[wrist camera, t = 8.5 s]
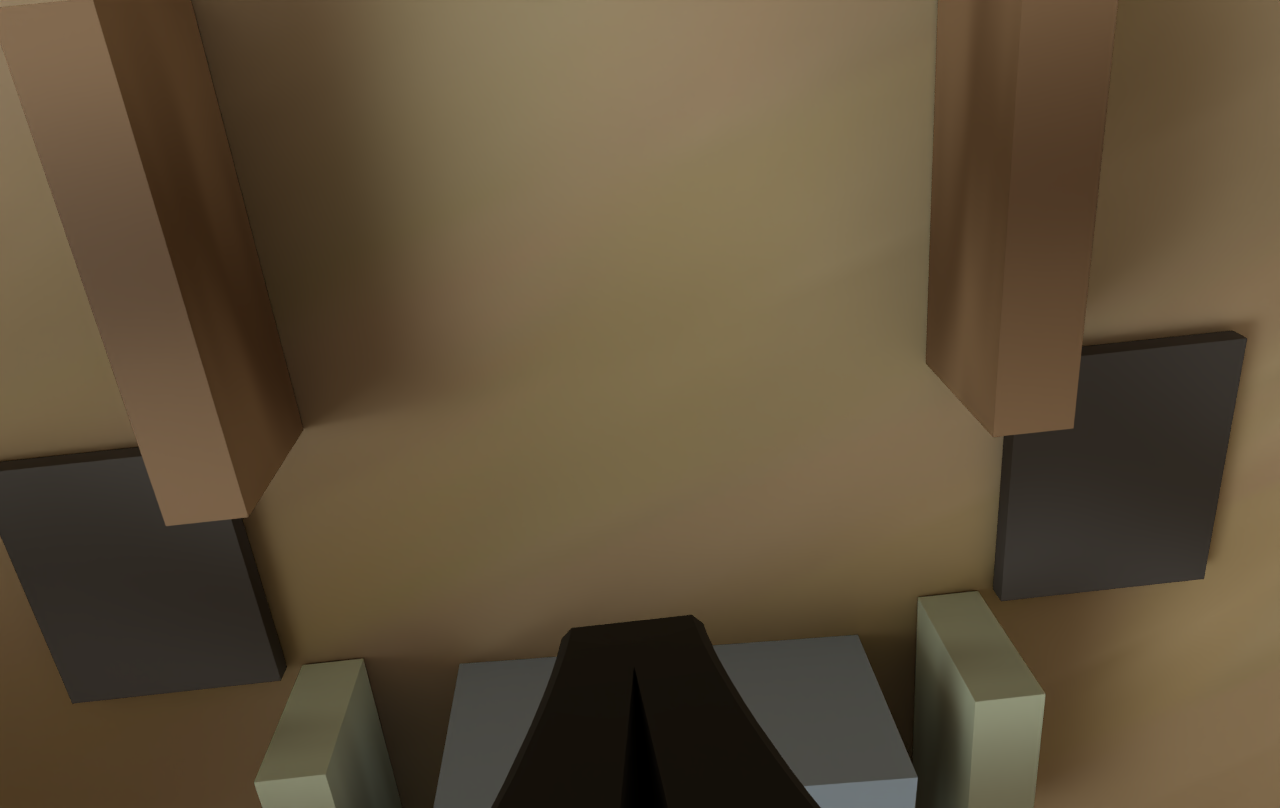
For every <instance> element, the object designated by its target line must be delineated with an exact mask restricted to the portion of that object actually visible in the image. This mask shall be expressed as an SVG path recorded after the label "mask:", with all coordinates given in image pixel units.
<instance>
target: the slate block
mask: <svg viewBox="0 0 1280 808" xmlns="http://www.w3.org/2000/svg"><path fill="white" fill-rule="evenodd" d="M712 646H713V648H714V650H715V652H716V654H717V656H718V658H719V660H720V661H721V663H722V665H723V667H724V669H725V670H726V672H727V674H728V676H729V677H730V679H731V681H732V682H733V684H734V686H735V687H736V689H737V691H738V692H739V694H740V696H741V697H742V699H743V701H744V702H745V704H746V705H747V707H748V708H749V710H750V711H751V713H752V714H753V716H754V717H755V719H756V721H757V722H758V723H759V725H760V726H761V728H762V729H763V731H764V732H765V733H766V735H767V736H768V738H769V739H770V740H771V742H772V743H773V745H774V746H775V748H776V749H777V750H778V752H779V753H780V755H781V756H782V757H783V759H784V760H785V762H786V763H787V764H788V766H789V767H790V769H791V770H792V771H793V773H794V774H795V775H796V777H797V778H798V779H799V781H800V782H801V783H802V784H803V786H804V787H805V788H806V790H807V791H808V792H809V794H810V795H811V796H812V797H813V799H814V800H815V801H816V802H817V804H818V805H819V806H820V807H821V808H915V801H916V791H917V781H918V777H917V774H916V772H915V770H914V767H913V765H912V762H911V760H910V758H909V755H908V753H907V751H906V748H905V746H904V743H903V741H902V739H901V736H900V734H899V732H898V729H897V727H896V724H895V722H894V720H893V717H892V715H891V712H890V710H889V708H888V705H887V703H886V701H885V698H884V696H883V693H882V691H881V689H880V686H879V684H878V682H877V679H876V677H875V674H874V672H873V670H872V667H871V665H870V663H869V660H868V658H867V655H866V653H865V651H864V648H863V646H862V644H861V641H860V639H859V636H858V635H848V636H834V637H821V638H807V639H793V640H780V641H766V642H752V643H738V644H725V645H712ZM556 658H557V657H546V658H533V659H519V660H505V661H491V662H478V663H464V664H460V665H459V670H458V676H457V681H456V687H455V692H454V698H453V703H452V709H451V714H450V720H449V725H448V731H447V736H446V742H445V747H444V753H443V758H442V764H441V769H440V775H439V780H438V786H437V791H436V797H435V802H434V808H491V807H492V805H493V803H494V801H495V799H496V797H497V795H498V793H499V791H500V789H501V787H502V785H503V783H504V781H505V779H506V777H507V775H508V773H509V771H510V769H511V766H512V764H513V762H514V760H515V758H516V756H517V754H518V752H519V749H520V747H521V745H522V743H523V741H524V739H525V737H526V734H527V732H528V730H529V728H530V726H531V723H532V721H533V719H534V716H535V714H536V711H537V709H538V707H539V704H540V702H541V699H542V697H543V694H544V692H545V689H546V687H547V684H548V681H549V679H550V676H551V673H552V670H553V667H554V664H555V661H556Z"/></svg>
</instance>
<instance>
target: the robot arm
mask: <svg viewBox="0 0 1280 808" xmlns="http://www.w3.org/2000/svg"><path fill="white" fill-rule="evenodd" d="M491 808H821V807H820V806H819V805H818V804H817V802H816V801H815V800H814V799H813V797H812V796H811V795H810V794H809V792H808V791H807V790H806V788H805V787H804V786H803V784H802V783H801V782H800V781H799V779H798V778H797V777H796V775H795V774H794V773H793V771H792V770H791V769H790V767H789V766H788V764H787V763H786V762H785V760H784V759H783V757H782V756H781V755H780V753H779V752H778V750H777V749H776V748H775V746H774V745H773V743H772V742H771V740H770V739H769V738H768V736H767V735H766V733H765V732H764V731H763V729H762V728H761V726H760V725H759V723H758V722H757V721H756V719H755V717H754V716H753V714H752V713H751V711H750V710H749V708H748V707H747V705H746V704H745V702H744V701H743V699H742V697H741V696H740V694H739V692H738V691H737V689H736V687H735V686H734V684H733V682H732V681H731V679H730V677H729V676H728V674H727V672H726V670H725V669H724V667H723V665H722V663H721V661H720V660H719V658H718V656H717V654H716V652H715V650H714V648H713V646H712V644H711V641H710V639H709V637H708V635H707V633H706V630H705V627H704V624H703V623H702V622H700V621H699V620H698V619H697V618H695V617H694V616H693V615H686V616H677V617H668V618H659V619H650V620H641V621H632V622H623V623H614V624H605V625H595V626H586V627H577V628H571V629H570V630H569V632H568V633H567V634H566V635H565V636H564V637H563V638H562V640H561V644H560V648H559V651H558V655H557V658H556V661H555V664H554V667H553V670H552V673H551V676H550V679H549V681H548V684H547V687H546V689H545V692H544V694H543V697H542V699H541V702H540V704H539V707H538V709H537V711H536V714H535V716H534V719H533V721H532V723H531V726H530V728H529V730H528V732H527V734H526V737H525V739H524V741H523V743H522V745H521V747H520V749H519V752H518V754H517V756H516V758H515V760H514V762H513V764H512V766H511V769H510V771H509V773H508V775H507V777H506V779H505V781H504V783H503V785H502V787H501V789H500V791H499V793H498V795H497V797H496V799H495V801H494V803H493V805H492V807H491Z"/></svg>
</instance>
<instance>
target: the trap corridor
mask: <svg viewBox="0 0 1280 808" xmlns="http://www.w3.org/2000/svg"><path fill="white" fill-rule="evenodd" d="M1117 8H1118V0H938V15H937V45H936V75H935V105H934V134H933V164H932V194H931V224H930V254H929V283H928V313H927V343H926V364H927V365H928V366H929V367H930V368H931V370H932V371H933V372H934V373H935V374H936V375H937V376H938V377H939V378H940V379H941V381H942V382H943V383H944V384H945V385H946V386H947V387H948V388H949V389H950V390H951V391H952V393H953V394H954V395H955V396H956V397H957V398H958V399H959V400H960V401H961V402H962V404H963V405H964V406H965V407H966V408H967V409H968V410H969V411H970V412H971V413H972V414H973V416H974V417H975V418H976V419H977V420H978V421H979V422H980V423H981V424H982V425H983V427H984V428H985V429H986V430H987V431H988V432H989V433H990V434H991V435H992V436H993V437H998V436H1004V442H1003V456H1002V470H1001V483H1000V497H999V511H998V525H997V539H996V553H995V567H994V581H993V590H994V592H995V593H996V594H997V596H998V597H999V599H1000V600H1001V601H1007V600H1016V599H1025V598H1034V597H1043V596H1052V595H1061V594H1070V593H1079V592H1089V591H1098V590H1107V589H1116V588H1125V587H1134V586H1143V585H1152V584H1161V583H1170V582H1179V581H1188V580H1197V579H1204V576H1205V570H1206V564H1207V559H1208V553H1209V548H1210V542H1211V537H1212V531H1213V525H1214V520H1215V514H1216V509H1217V503H1218V498H1219V492H1220V486H1221V481H1222V475H1223V470H1224V464H1225V459H1226V453H1227V448H1228V442H1229V436H1230V431H1231V425H1232V420H1233V414H1234V409H1235V403H1236V397H1237V392H1238V386H1239V381H1240V375H1241V370H1242V364H1243V359H1244V353H1245V347H1246V342H1247V338H1246V337H1244V336H1242V335H1240V334H1238V333H1236V332H1234V331H1225V332H1216V333H1206V334H1197V335H1188V336H1178V337H1169V338H1159V339H1150V340H1141V341H1131V342H1122V343H1112V344H1103V345H1094V346H1084V347H1082V342H1083V332H1084V322H1085V313H1086V303H1087V294H1088V284H1089V275H1090V265H1091V256H1092V246H1093V237H1094V227H1095V217H1096V208H1097V198H1098V189H1099V179H1100V170H1101V160H1102V151H1103V141H1104V132H1105V122H1106V113H1107V103H1108V93H1109V84H1110V74H1111V65H1112V55H1113V46H1114V36H1115V27H1116V17H1117ZM0 44H1V46H2V49H3V52H4V55H5V58H6V61H7V64H8V67H9V70H10V73H11V76H12V79H13V81H14V84H15V87H16V90H17V93H18V96H19V99H20V102H21V105H22V108H23V111H24V114H25V116H26V119H27V122H28V125H29V128H30V131H31V134H32V137H33V140H34V143H35V146H36V149H37V151H38V154H39V157H40V160H41V163H42V166H43V169H44V172H45V175H46V178H47V181H48V184H49V186H50V189H51V192H52V195H53V198H54V201H55V204H56V207H57V210H58V213H59V216H60V219H61V221H62V224H63V227H64V230H65V233H66V236H67V239H68V242H69V245H70V248H71V251H72V254H73V256H74V259H75V262H76V265H77V268H78V271H79V274H80V277H81V280H82V283H83V286H84V289H85V291H86V294H87V297H88V300H89V303H90V306H91V309H92V312H93V315H94V318H95V321H96V324H97V326H98V329H99V332H100V335H101V338H102V341H103V344H104V347H105V350H106V353H107V356H108V359H109V361H110V364H111V367H112V370H113V373H114V376H115V379H116V382H117V385H118V388H119V391H120V394H121V396H122V399H123V402H124V405H125V408H126V411H127V414H128V417H129V420H130V423H131V426H132V429H133V431H134V434H135V437H136V440H137V443H138V446H139V447H136V448H126V449H117V450H107V451H98V452H89V453H79V454H70V455H60V456H51V457H42V458H32V459H23V460H13V461H4V462H0V535H1V538H2V540H3V542H4V545H5V547H6V549H7V552H8V554H9V556H10V559H11V561H12V564H13V566H14V568H15V571H16V573H17V575H18V578H19V580H20V582H21V585H22V587H23V589H24V592H25V594H26V596H27V599H28V601H29V603H30V606H31V608H32V610H33V613H34V615H35V617H36V620H37V622H38V624H39V627H40V629H41V631H42V634H43V636H44V638H45V641H46V643H47V645H48V648H49V650H50V652H51V655H52V657H53V659H54V662H55V664H56V666H57V669H58V671H59V673H60V676H61V678H62V681H63V683H64V685H65V688H66V690H67V692H68V695H69V697H70V699H71V702H72V703H81V702H90V701H100V700H109V699H118V698H127V697H136V696H145V695H154V694H163V693H172V692H181V691H190V690H199V689H208V688H217V687H227V686H236V685H245V684H254V683H263V682H272V681H281V679H282V677H283V675H284V672H285V670H286V668H287V666H286V662H285V659H284V656H283V652H282V649H281V646H280V643H279V639H278V636H277V633H276V629H275V626H274V623H273V620H272V616H271V613H270V610H269V606H268V603H267V600H266V596H265V593H264V590H263V587H262V583H261V580H260V577H259V573H258V570H257V567H256V564H255V560H254V557H253V554H252V550H251V547H250V544H249V541H248V537H247V534H246V531H245V527H244V524H243V521H242V518H246V517H249V515H250V514H251V512H252V511H253V509H254V507H255V506H256V504H257V503H258V501H259V499H260V498H261V496H262V495H263V493H264V491H265V490H266V488H267V487H268V485H269V483H270V482H271V480H272V479H273V477H274V476H275V474H276V472H277V471H278V469H279V468H280V466H281V464H282V463H283V461H284V460H285V458H286V456H287V455H288V453H289V452H290V450H291V449H292V447H293V445H294V444H295V442H296V441H297V439H298V437H299V436H300V434H301V433H302V431H303V426H302V422H301V419H300V415H299V411H298V407H297V403H296V400H295V396H294V392H293V388H292V384H291V380H290V377H289V373H288V369H287V365H286V361H285V357H284V354H283V350H282V346H281V342H280V338H279V335H278V331H277V327H276V323H275V319H274V315H273V312H272V308H271V304H270V300H269V296H268V293H267V289H266V285H265V281H264V277H263V273H262V270H261V266H260V262H259V258H258V254H257V250H256V247H255V243H254V239H253V235H252V231H251V228H250V224H249V220H248V216H247V212H246V208H245V205H244V201H243V197H242V193H241V189H240V185H239V182H238V178H237V174H236V170H235V166H234V163H233V159H232V155H231V151H230V147H229V143H228V140H227V136H226V132H225V128H224V124H223V121H222V117H221V113H220V109H219V105H218V101H217V98H216V94H215V90H214V86H213V82H212V78H211V75H210V71H209V67H208V63H207V59H206V56H205V52H204V48H203V44H202V40H201V36H200V33H199V29H198V25H197V21H196V17H195V14H194V10H193V6H192V2H191V0H68V1H58V2H48V3H38V4H28V5H18V6H8V7H0ZM1045 695H1046V694H1045V692H1044V691H1043V689H1042V688H1041V686H1040V685H1039V683H1038V682H1037V680H1036V679H1035V677H1034V676H1033V674H1032V673H1031V671H1030V670H1029V668H1028V666H1027V665H1026V663H1025V662H1024V660H1023V659H1022V657H1021V656H1020V654H1019V653H1018V651H1017V650H1016V648H1015V647H1014V645H1013V644H1012V642H1011V641H1010V639H1009V637H1008V636H1007V634H1006V633H1005V631H1004V630H1003V628H1002V627H1001V625H1000V624H999V622H998V621H997V619H996V618H995V616H994V615H993V613H992V612H991V610H990V609H989V607H988V605H987V604H986V602H985V601H984V599H983V598H982V596H981V595H980V593H979V592H978V591H972V592H963V593H954V594H945V595H936V596H927V597H918V611H917V641H916V671H915V701H914V731H913V760H912V765H913V767H914V770H915V772H916V774H917V777H918V781H917V791H916V801H915V808H1034V800H1035V790H1036V781H1037V771H1038V761H1039V752H1040V742H1041V733H1042V723H1043V714H1044V704H1045ZM254 784H255V787H256V790H257V793H258V796H259V799H260V802H261V805H262V808H402V805H401V801H400V797H399V793H398V789H397V786H396V782H395V778H394V774H393V770H392V766H391V763H390V759H389V755H388V751H387V747H386V743H385V740H384V736H383V732H382V728H381V724H380V721H379V717H378V713H377V709H376V705H375V701H374V698H373V694H372V690H371V686H370V682H369V679H368V675H367V671H366V667H365V663H364V659H354V660H345V661H336V662H327V663H318V664H308V665H302V667H301V669H300V672H299V674H298V677H297V679H296V681H295V684H294V686H293V689H292V691H291V693H290V696H289V698H288V701H287V703H286V706H285V708H284V710H283V713H282V715H281V718H280V720H279V723H278V725H277V727H276V730H275V732H274V735H273V737H272V740H271V742H270V744H269V747H268V749H267V752H266V754H265V757H264V759H263V761H262V764H261V766H260V769H259V771H258V774H257V776H256V778H255V781H254Z"/></svg>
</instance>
